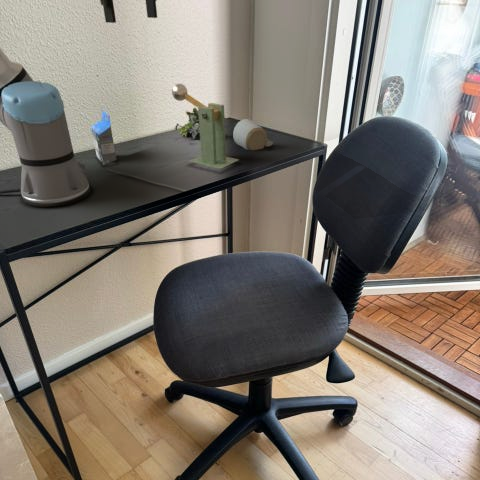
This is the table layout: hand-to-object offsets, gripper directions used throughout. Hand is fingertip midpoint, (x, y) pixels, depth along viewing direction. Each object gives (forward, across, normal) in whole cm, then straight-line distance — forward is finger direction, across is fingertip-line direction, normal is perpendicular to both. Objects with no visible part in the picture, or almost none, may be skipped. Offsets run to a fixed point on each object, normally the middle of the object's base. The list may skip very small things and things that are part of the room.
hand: (132, 20), depth 114 cm
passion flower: (+33, -19, +2) cm, 38 cm away
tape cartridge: (+33, +9, -8) cm, 35 cm away
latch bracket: (+33, -4, +20) cm, 38 cm away
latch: (+20, -4, +13) cm, 24 cm away
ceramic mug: (+33, -22, +21) cm, 45 cm away
